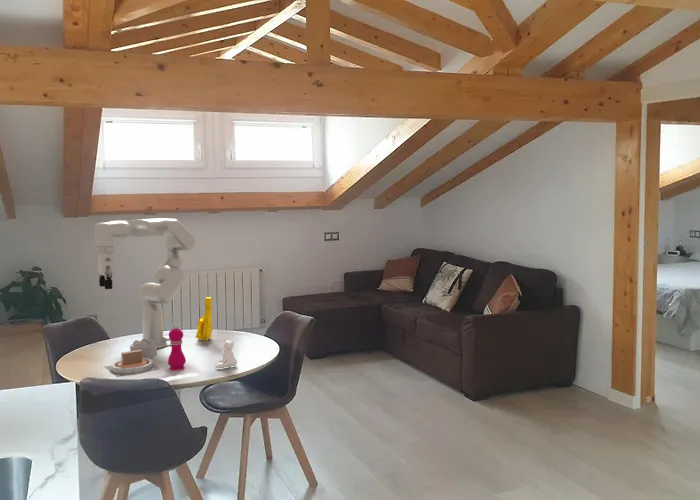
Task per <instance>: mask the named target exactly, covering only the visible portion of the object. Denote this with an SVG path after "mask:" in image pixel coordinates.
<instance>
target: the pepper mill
mask: <svg viewBox="0 0 700 500" xmlns="http://www.w3.org/2000/svg"><path fill="white" fill-rule="evenodd" d="M168 337H169V338H170V339H171V340H170V341H169V342H170V343H169V344H170V346H171V350H170V354H169V356H168V359H167V364H168V366H169V370H171V371H181V370H184V369H185V368H186V367H185V363H186V360H187V359H186V356H185V355H184V352H183V350H182V344H183V338H184V331H183V330H182V329H180V328H179V326H178V325H177V324H175V325H174V326H173V329H170V331H169V332H168Z"/></svg>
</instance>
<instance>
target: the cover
mask: <svg viewBox="0 0 700 500" xmlns="http://www.w3.org/2000/svg"><path fill="white" fill-rule="evenodd" d="M120 355H121V359H120V360H122V362H119V363H118V364H117V367H120V368H134V367H140V366H144V365H146V364H147V361H146V360H142V350H135V351H130V350H129V351H123V352H120Z"/></svg>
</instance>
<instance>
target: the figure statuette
mask: <svg viewBox="0 0 700 500" xmlns="http://www.w3.org/2000/svg"><path fill="white" fill-rule="evenodd" d="M212 300H213V299H212V297H210V296H209V297H208V296H207V297H205V298H204V314H203V316H202V317H200V318H199V319H198V320H197V321H198V322H197V325H196V326H197V331H196V335H195V338H196V339H198V341H209V340H210V339H211V338H212V333H213V327H214V326H213V320H212V319H213V317H212V316H213V315H212V314H213V313H212V304H213V303H212V302H213V301H212ZM208 339H209V340H208Z"/></svg>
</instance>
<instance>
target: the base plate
mask: <svg viewBox="0 0 700 500" xmlns="http://www.w3.org/2000/svg"><path fill="white" fill-rule="evenodd" d="M142 360H146V361H147V364H146V365H144V366H140V367H134V368H120V367H117V364H118V363H119V362H122V359H119V360H116V361H114V362H112V363H111V364H110V365H107V366H104V369H106V370H108V371H109V372H110V373H112V374H113V375H115V377H117V378H119V377H125V376H129V375H131V376H132V375H135V374H141V373H145V372H146V373H147V372H152V371H156V370H161V368H160V367H158V365H155V364H154V360H153V359H152V358H151V359H147V358H142Z"/></svg>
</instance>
